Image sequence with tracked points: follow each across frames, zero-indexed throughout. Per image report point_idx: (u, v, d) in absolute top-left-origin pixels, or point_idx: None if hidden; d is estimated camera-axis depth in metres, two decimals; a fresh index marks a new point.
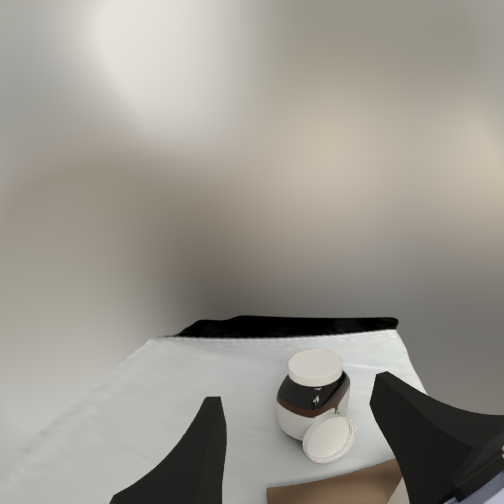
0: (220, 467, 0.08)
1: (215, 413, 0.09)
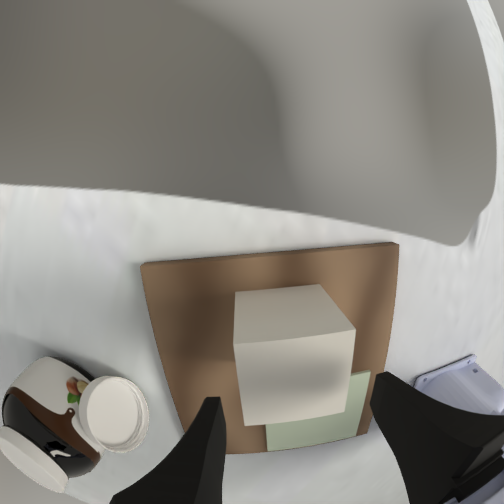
0: (220, 467, 0.08)
1: (215, 413, 0.09)
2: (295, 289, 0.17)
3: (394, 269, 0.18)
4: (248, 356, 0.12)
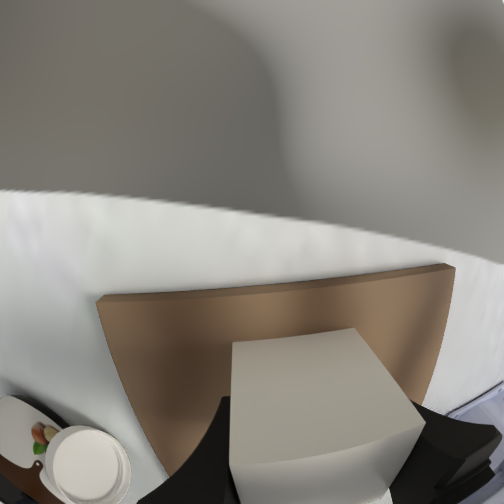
0: None
1: None
2: (321, 338, 0.11)
3: (447, 300, 0.12)
4: (255, 476, 0.06)
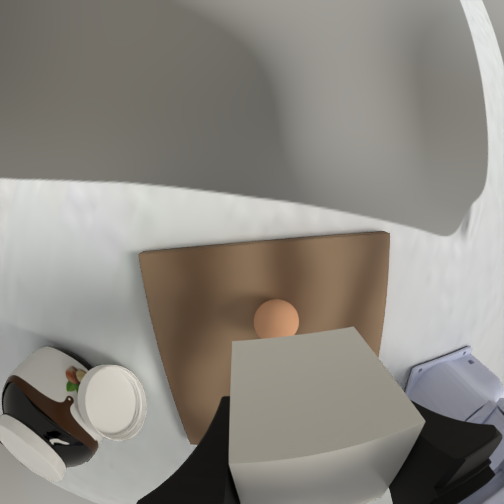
0: None
1: None
2: (321, 337, 0.11)
3: (385, 257, 0.19)
4: (254, 474, 0.06)
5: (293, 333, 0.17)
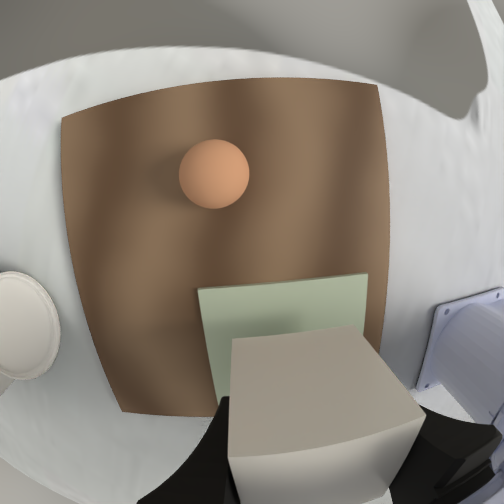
0: None
1: None
2: (321, 334, 0.11)
3: (377, 113, 0.12)
4: (254, 469, 0.06)
5: (236, 181, 0.10)
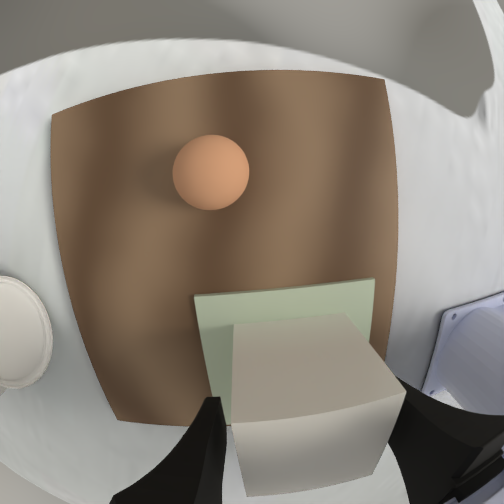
0: (220, 467, 0.08)
1: (215, 413, 0.09)
2: (314, 320, 0.13)
3: (384, 109, 0.11)
4: (253, 436, 0.07)
5: (235, 180, 0.09)
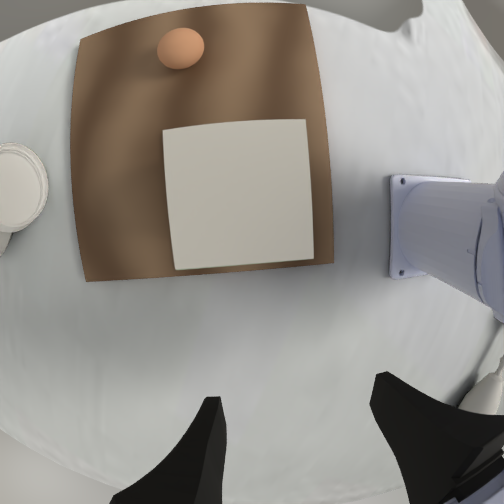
0: (220, 467, 0.08)
1: (215, 413, 0.09)
2: None
3: (305, 19, 0.14)
4: (178, 145, 0.10)
5: (193, 43, 0.12)
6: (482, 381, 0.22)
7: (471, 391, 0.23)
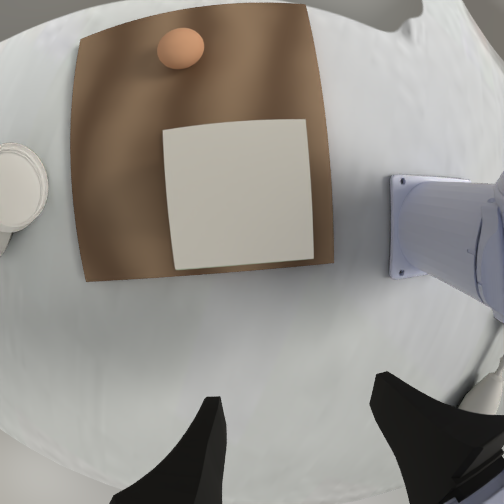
0: (220, 467, 0.08)
1: (215, 413, 0.09)
2: None
3: (305, 19, 0.14)
4: (178, 145, 0.10)
5: (193, 43, 0.12)
6: (482, 381, 0.22)
7: (471, 391, 0.23)
